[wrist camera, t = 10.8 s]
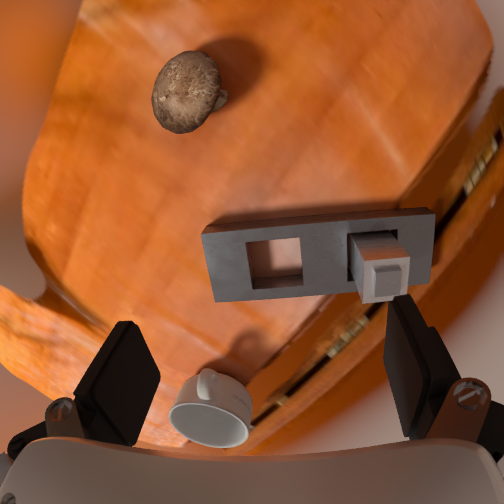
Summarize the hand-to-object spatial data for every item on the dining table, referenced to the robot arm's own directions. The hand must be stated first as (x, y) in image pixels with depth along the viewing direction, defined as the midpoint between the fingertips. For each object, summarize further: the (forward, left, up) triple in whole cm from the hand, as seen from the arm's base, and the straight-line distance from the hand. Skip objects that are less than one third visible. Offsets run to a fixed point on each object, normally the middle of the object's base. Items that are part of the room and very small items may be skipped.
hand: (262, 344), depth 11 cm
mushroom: (-11, -7, -23) cm, 27 cm away
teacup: (+26, -11, -23) cm, 36 cm away
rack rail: (+7, +4, -23) cm, 24 cm away
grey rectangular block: (+7, +9, -23) cm, 26 cm away
